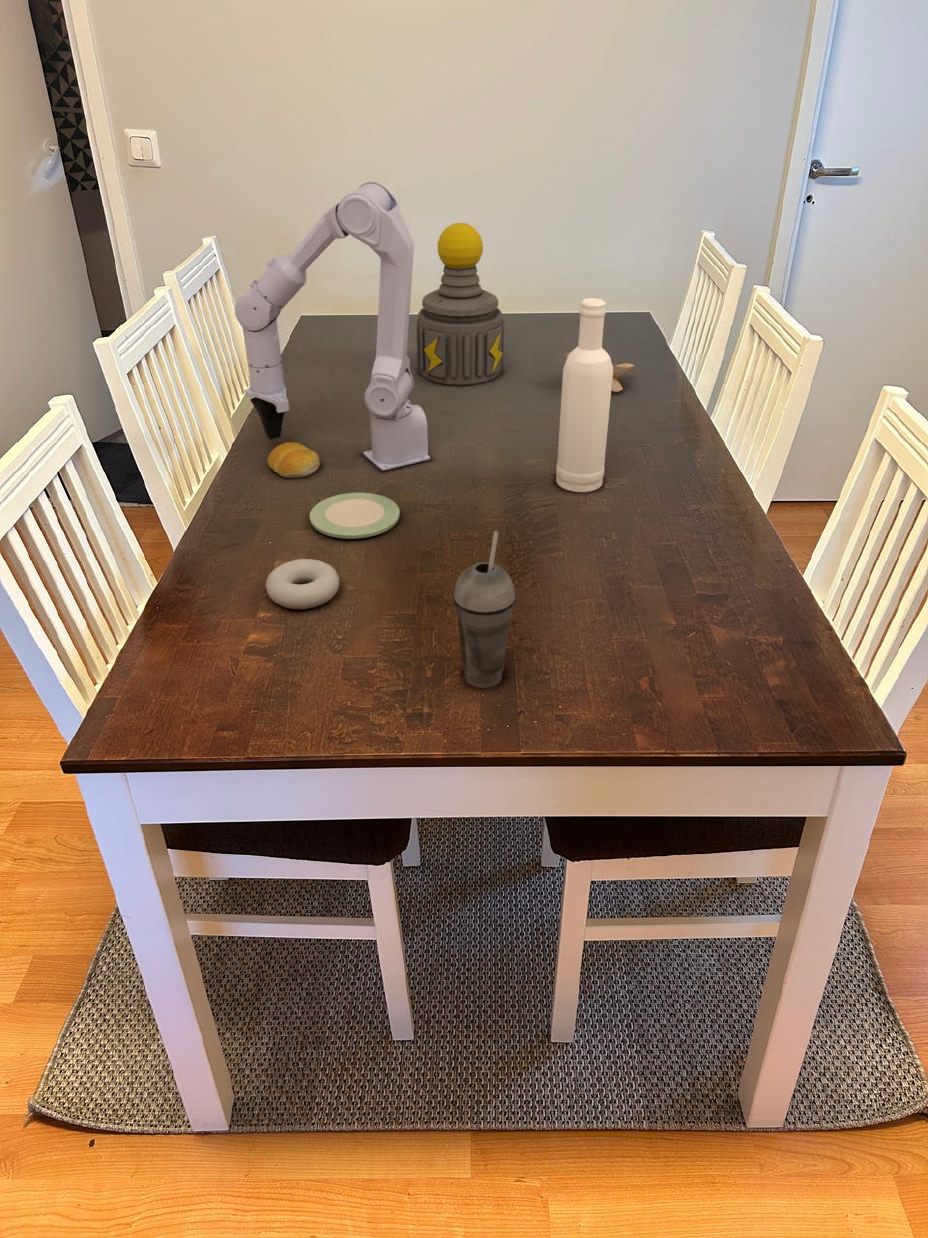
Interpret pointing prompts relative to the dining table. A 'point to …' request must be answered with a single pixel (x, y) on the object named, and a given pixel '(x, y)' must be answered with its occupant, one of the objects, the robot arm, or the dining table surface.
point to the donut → (302, 596)
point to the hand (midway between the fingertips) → (273, 436)
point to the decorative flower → (614, 373)
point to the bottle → (585, 405)
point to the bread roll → (293, 460)
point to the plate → (354, 515)
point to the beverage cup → (484, 619)
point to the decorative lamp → (460, 317)
